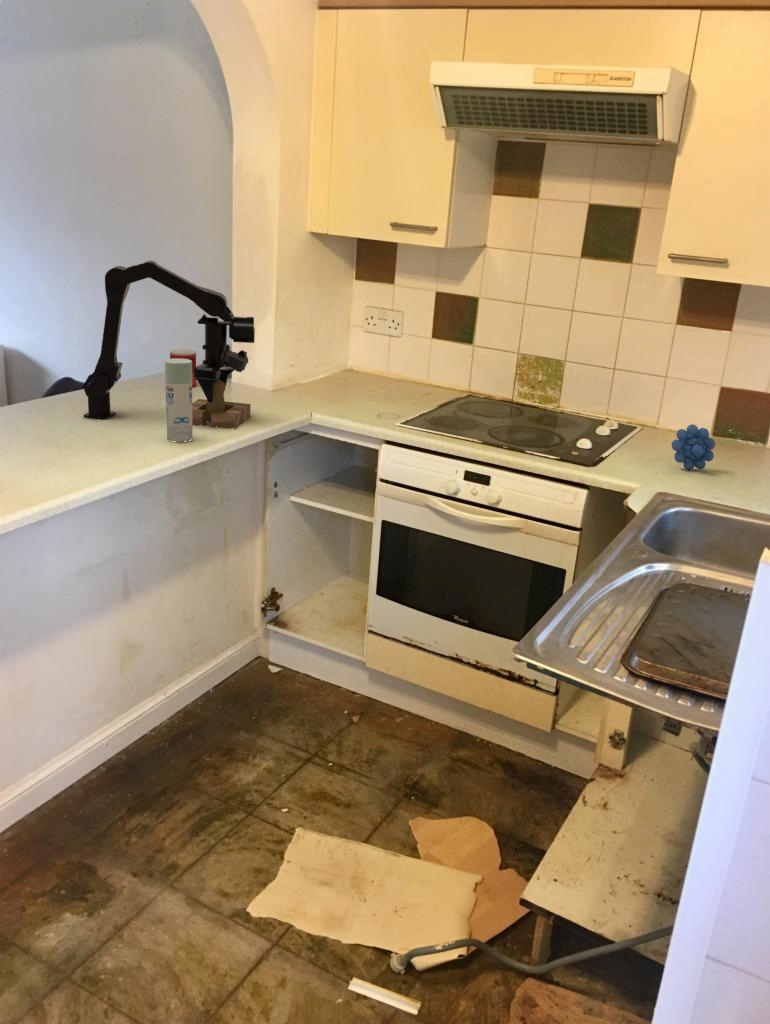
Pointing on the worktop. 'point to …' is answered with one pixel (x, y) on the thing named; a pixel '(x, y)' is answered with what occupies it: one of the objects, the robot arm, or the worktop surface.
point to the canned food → (186, 355)
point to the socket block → (220, 414)
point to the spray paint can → (178, 399)
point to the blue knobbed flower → (693, 447)
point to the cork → (216, 400)
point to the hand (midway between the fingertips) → (215, 398)
